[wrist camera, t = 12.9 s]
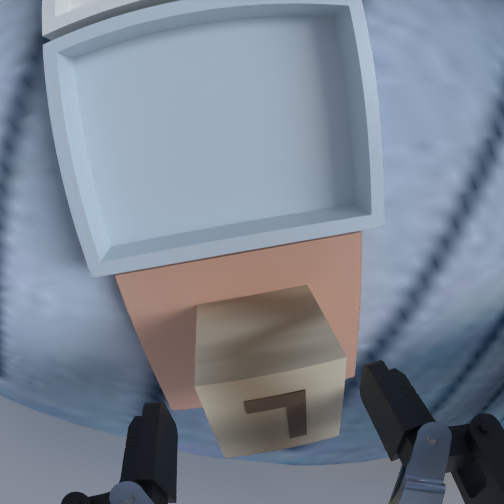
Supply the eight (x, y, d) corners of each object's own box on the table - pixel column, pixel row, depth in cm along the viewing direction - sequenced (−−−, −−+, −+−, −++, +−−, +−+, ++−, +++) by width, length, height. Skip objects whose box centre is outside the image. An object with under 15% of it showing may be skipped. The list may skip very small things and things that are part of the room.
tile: (352, 224, 14) (361, 232, 14) (348, 365, 18) (354, 376, 17) (120, 265, 14) (114, 275, 13) (173, 398, 18) (172, 410, 17)
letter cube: (307, 284, 14) (347, 358, 10) (310, 363, 16) (339, 436, 12) (196, 304, 14) (192, 388, 9) (218, 380, 16) (223, 459, 11)
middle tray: (339, 9, 10) (360, -6, 8) (361, 211, 14) (384, 226, 12) (65, 53, 10) (42, 44, 8) (107, 256, 14) (92, 278, 12)
